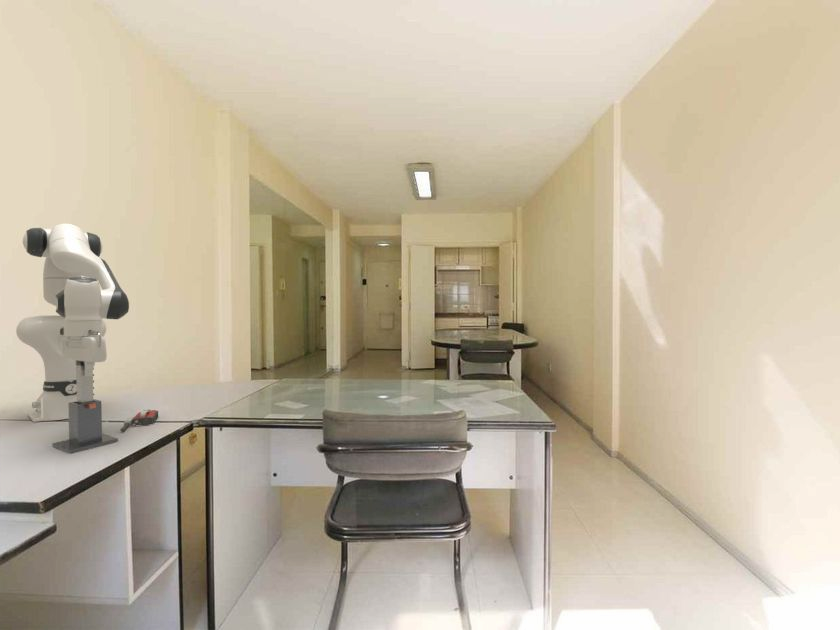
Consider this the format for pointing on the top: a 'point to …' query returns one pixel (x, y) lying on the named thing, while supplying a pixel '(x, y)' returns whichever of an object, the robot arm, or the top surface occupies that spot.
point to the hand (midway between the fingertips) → (84, 375)
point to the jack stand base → (84, 428)
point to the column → (83, 385)
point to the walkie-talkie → (141, 419)
